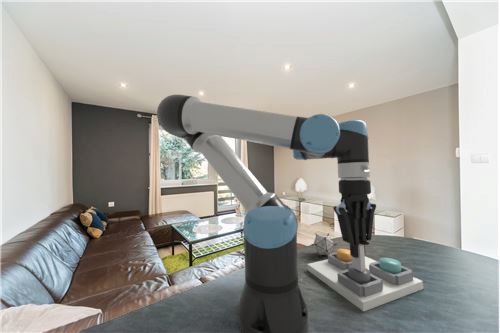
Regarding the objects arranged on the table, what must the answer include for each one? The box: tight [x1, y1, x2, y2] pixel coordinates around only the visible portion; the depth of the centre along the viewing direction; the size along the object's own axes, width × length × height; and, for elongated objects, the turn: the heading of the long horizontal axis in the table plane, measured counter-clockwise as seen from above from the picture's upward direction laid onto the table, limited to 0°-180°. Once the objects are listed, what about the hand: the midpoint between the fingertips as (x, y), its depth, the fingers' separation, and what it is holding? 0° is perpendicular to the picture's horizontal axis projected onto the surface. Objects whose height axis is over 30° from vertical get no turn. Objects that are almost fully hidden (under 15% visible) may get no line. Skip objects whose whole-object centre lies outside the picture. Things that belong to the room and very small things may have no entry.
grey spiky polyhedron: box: [311, 232, 338, 257], centre depth 72 cm, size 9×8×10 cm
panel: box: [307, 252, 424, 312], centre depth 55 cm, size 22×20×4 cm
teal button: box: [378, 257, 402, 275], centre depth 53 cm, size 5×5×4 cm
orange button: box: [335, 248, 352, 262], centre depth 60 cm, size 5×5×4 cm
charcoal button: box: [348, 265, 371, 285], centre depth 49 cm, size 5×5×4 cm
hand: (358, 268), depth 49 cm, fingers closed
